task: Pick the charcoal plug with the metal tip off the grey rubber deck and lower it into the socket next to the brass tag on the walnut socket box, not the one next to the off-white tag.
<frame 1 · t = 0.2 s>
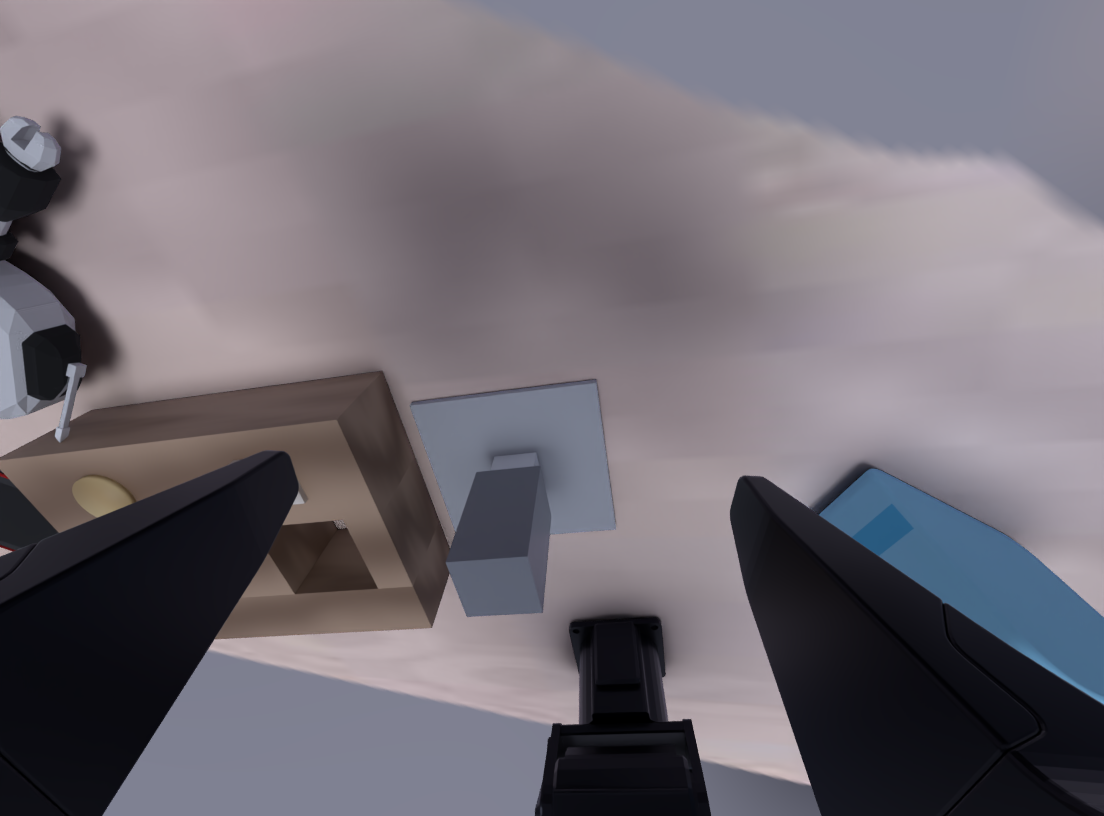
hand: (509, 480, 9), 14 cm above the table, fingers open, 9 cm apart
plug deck: (520, 467, 26), on the table
plug: (519, 471, 26), resting on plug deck
socket box: (285, 490, 28), on the table
data package: (906, 523, 27), on the table
cell phone: (42, 509, 31), on the table
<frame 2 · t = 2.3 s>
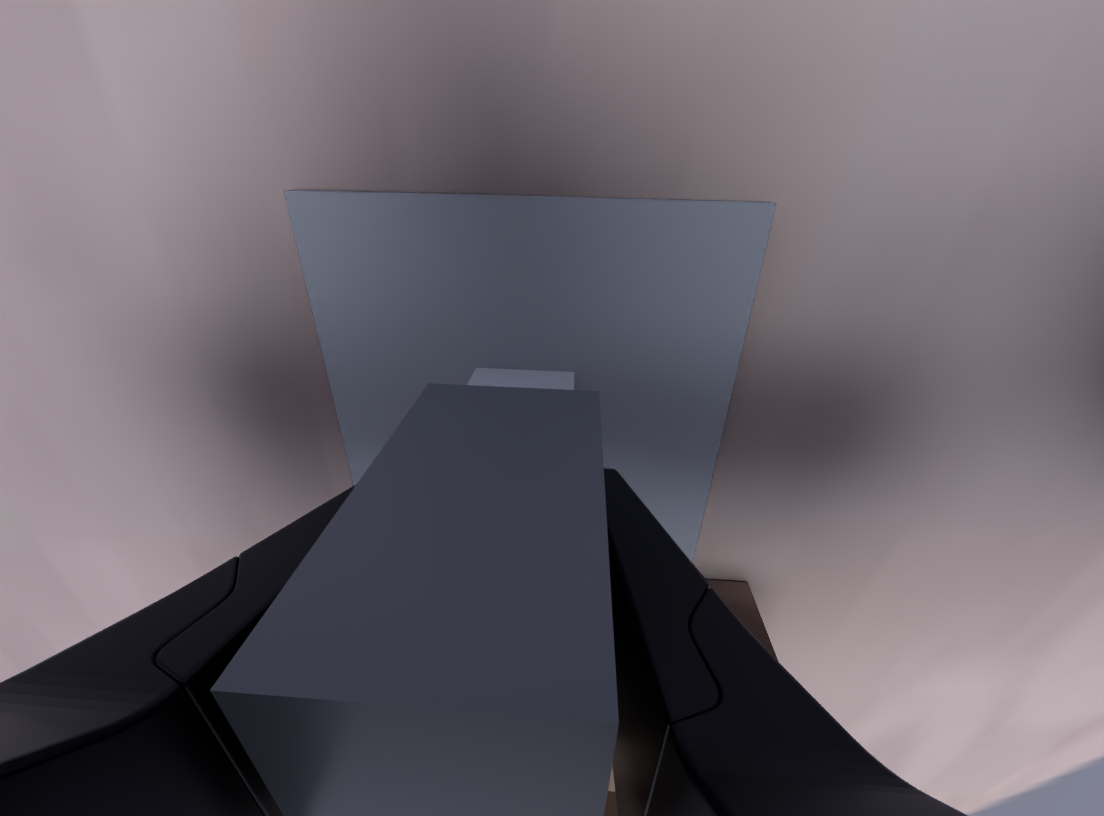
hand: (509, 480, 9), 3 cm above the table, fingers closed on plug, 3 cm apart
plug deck: (527, 405, 12), on the table
plug: (525, 413, 12), resting on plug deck, touching gripper
socket box: (529, 720, 19), on the table
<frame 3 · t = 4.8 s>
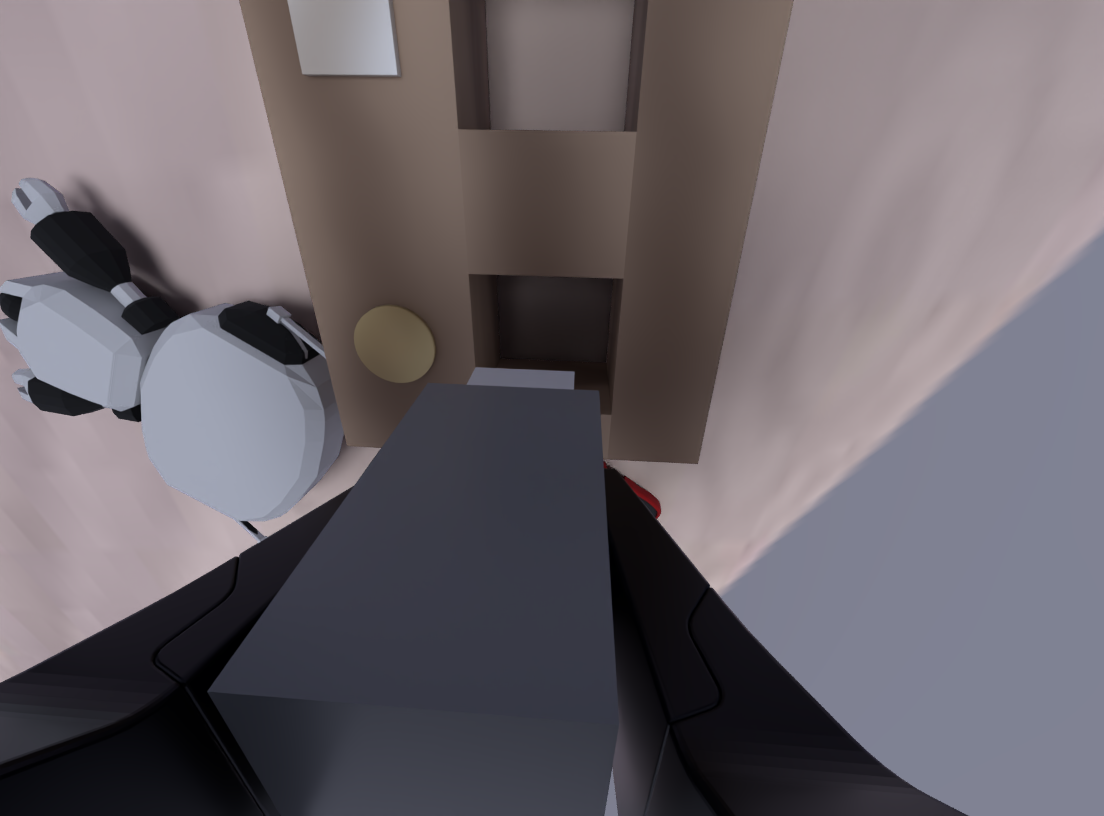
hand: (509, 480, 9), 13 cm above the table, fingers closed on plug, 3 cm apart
robot toy: (221, 359, 23), on the table
plug: (525, 412, 12), point 10 cm above the table, touching gripper
socket box: (530, 196, 18), on the table
cell phone: (534, 538, 28), on the table
when the fingers open (6 cm above the table, at t = 7.3 s): plug drops 3 cm, resting in socket box.
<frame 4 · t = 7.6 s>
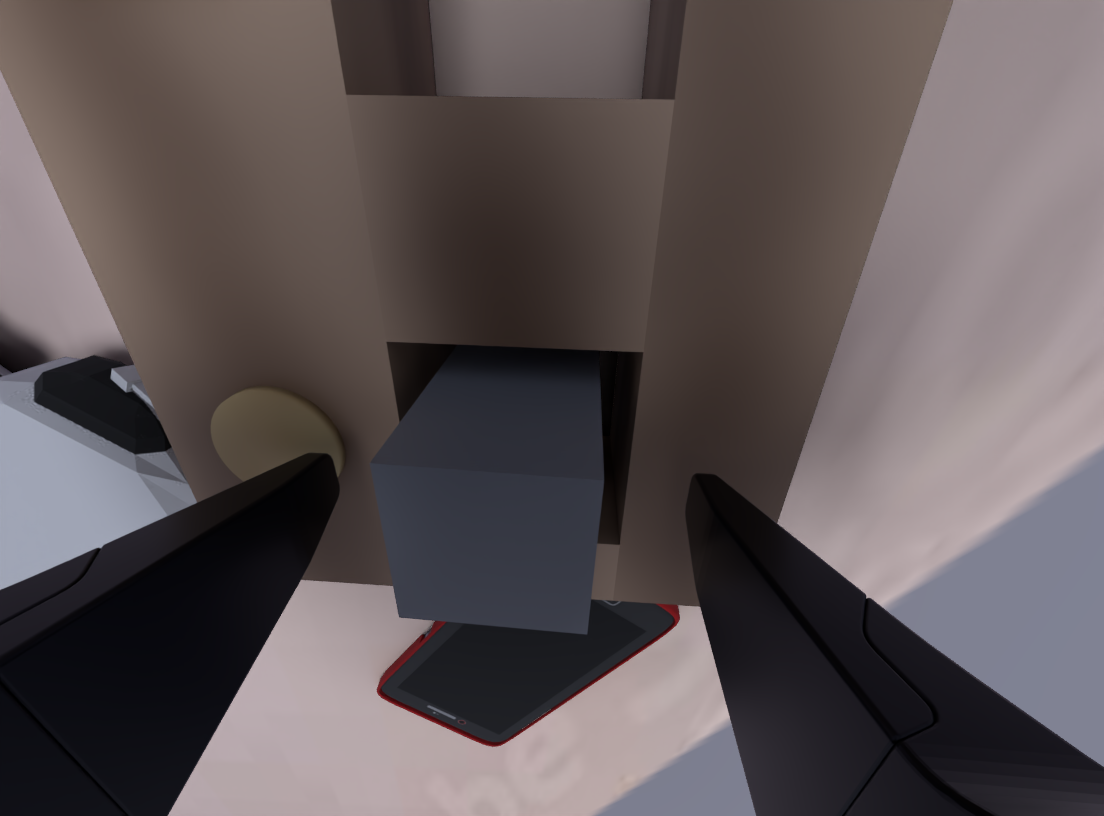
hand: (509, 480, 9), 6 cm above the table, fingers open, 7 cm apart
robot toy: (92, 422, 17), on the table
plug: (539, 364, 14), resting in socket box
socket box: (500, 209, 12), on the table
cell phone: (516, 637, 22), on the table
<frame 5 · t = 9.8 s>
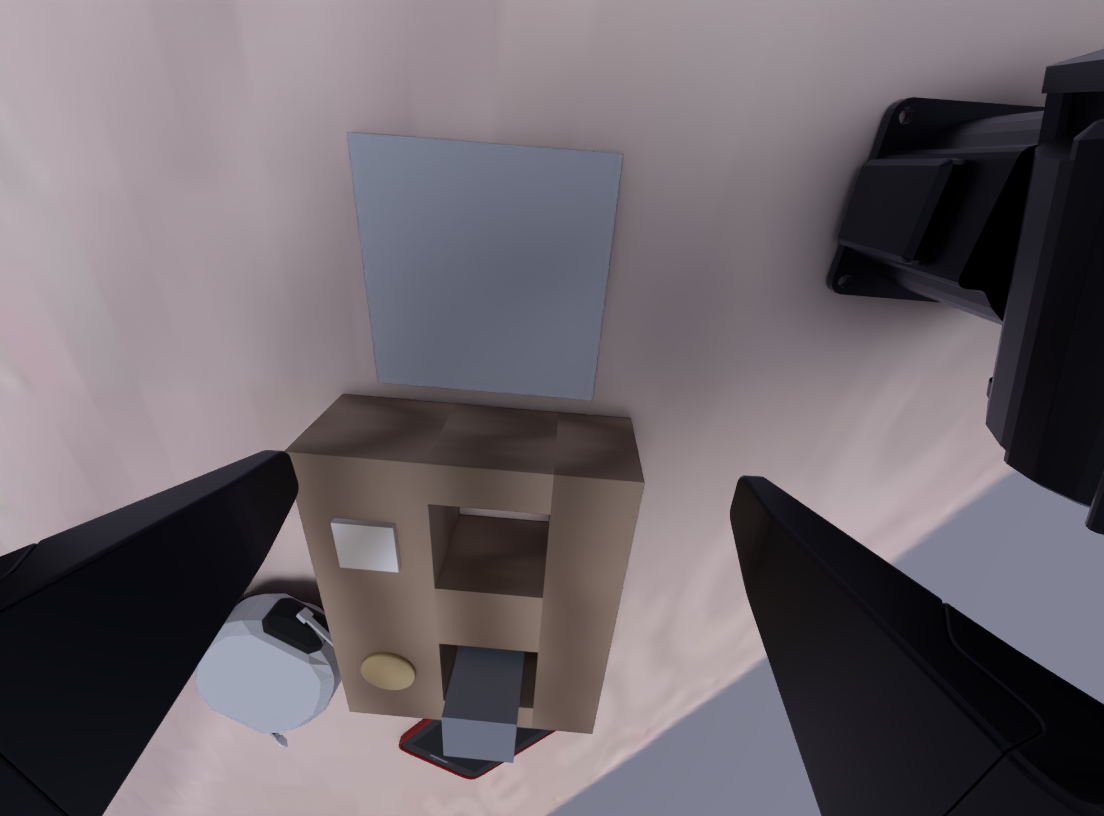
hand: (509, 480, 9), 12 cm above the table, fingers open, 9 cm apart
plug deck: (486, 280, 19), on the table
robot toy: (252, 603, 30), on the table
plug: (503, 597, 28), resting in socket box
socket box: (486, 543, 26), on the table
cell phone: (487, 715, 36), on the table
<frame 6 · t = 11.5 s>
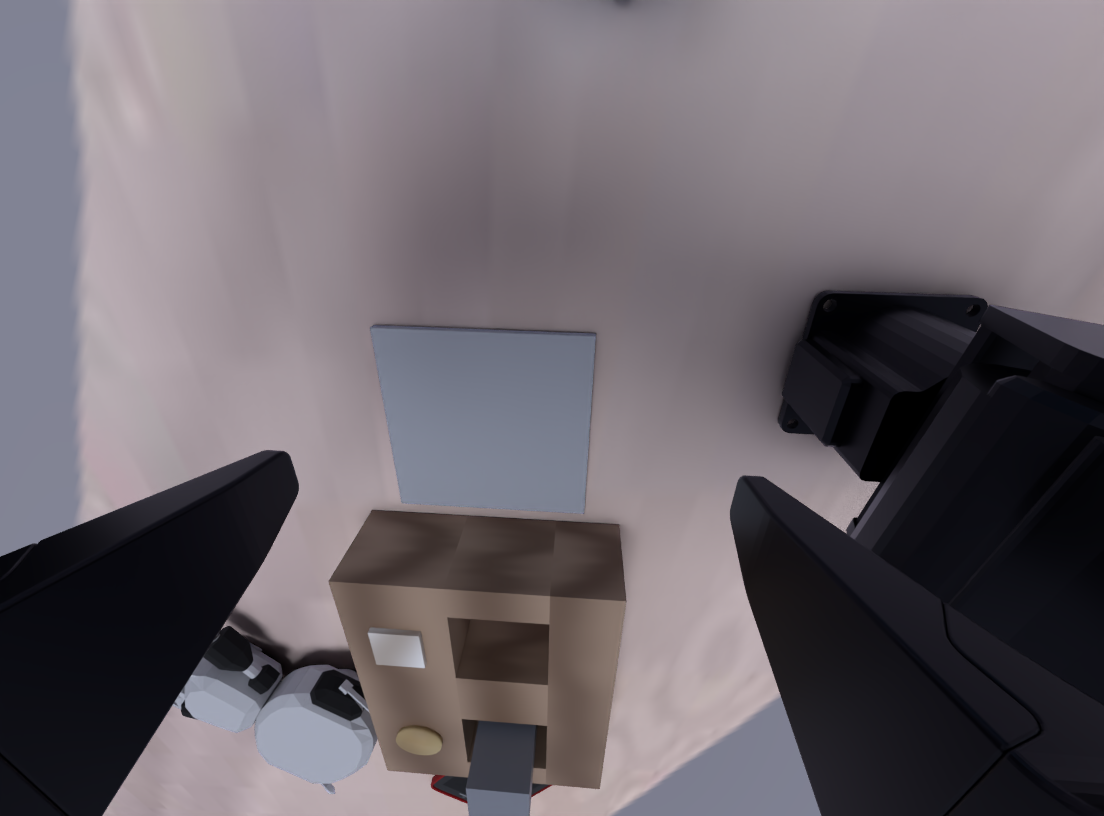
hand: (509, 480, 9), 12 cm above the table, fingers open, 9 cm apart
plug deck: (488, 425, 23), on the table
robot toy: (299, 668, 35), on the table
plug: (517, 664, 32), resting in socket box
socket box: (499, 621, 30), on the table
cell phone: (509, 758, 39), on the table
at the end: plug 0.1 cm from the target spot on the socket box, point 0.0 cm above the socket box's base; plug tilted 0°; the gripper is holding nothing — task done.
